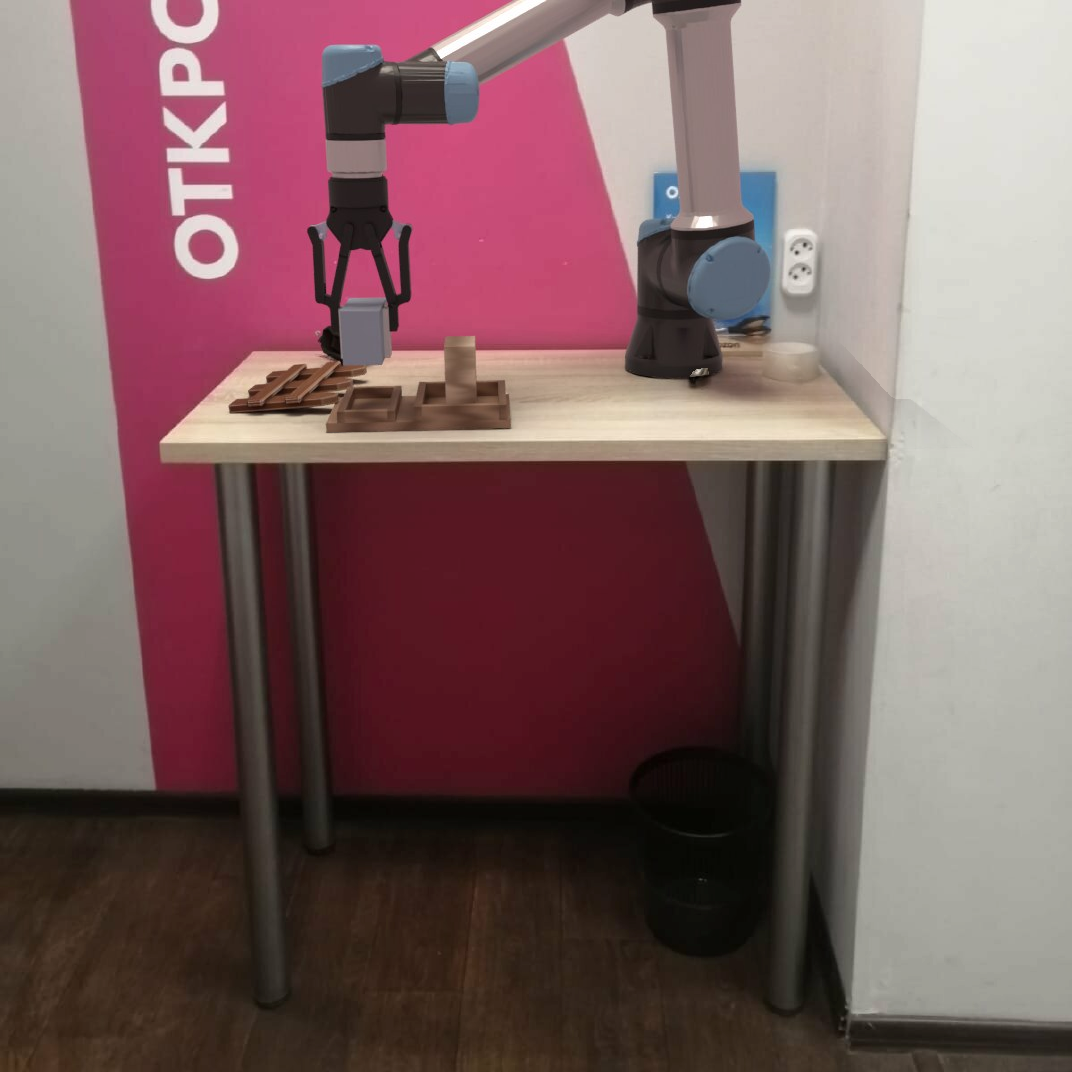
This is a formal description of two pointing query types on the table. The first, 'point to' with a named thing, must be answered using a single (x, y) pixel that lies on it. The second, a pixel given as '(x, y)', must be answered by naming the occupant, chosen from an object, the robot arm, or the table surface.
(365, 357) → the grey rectangular block
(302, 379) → the decorative fence
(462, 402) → the wooden block
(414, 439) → the table surface
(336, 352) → the toy
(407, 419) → the tray
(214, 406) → the table surface
